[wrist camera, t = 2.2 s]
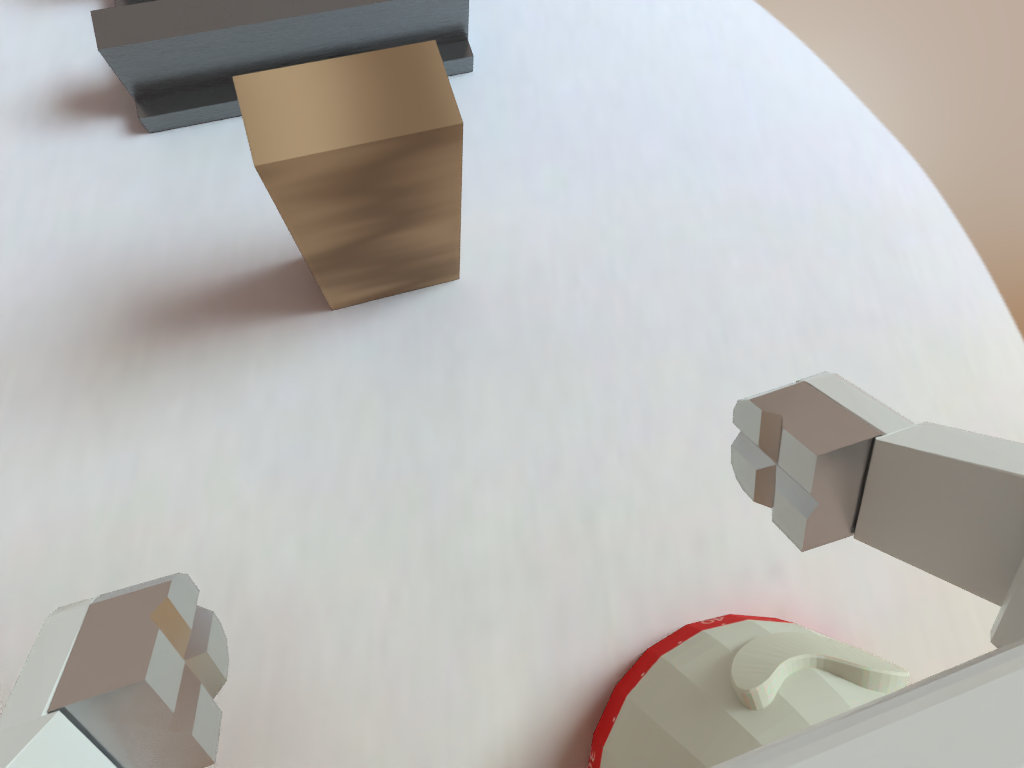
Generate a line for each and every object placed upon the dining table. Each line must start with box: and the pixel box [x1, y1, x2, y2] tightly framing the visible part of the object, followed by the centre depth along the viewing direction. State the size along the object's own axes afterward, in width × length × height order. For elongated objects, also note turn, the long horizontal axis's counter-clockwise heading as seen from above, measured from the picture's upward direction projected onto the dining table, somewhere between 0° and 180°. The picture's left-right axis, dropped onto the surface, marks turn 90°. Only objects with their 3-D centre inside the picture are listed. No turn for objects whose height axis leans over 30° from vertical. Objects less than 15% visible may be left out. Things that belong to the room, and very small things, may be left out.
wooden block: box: [233, 40, 463, 310], centre depth 23 cm, size 6×3×11 cm, turn 107°
